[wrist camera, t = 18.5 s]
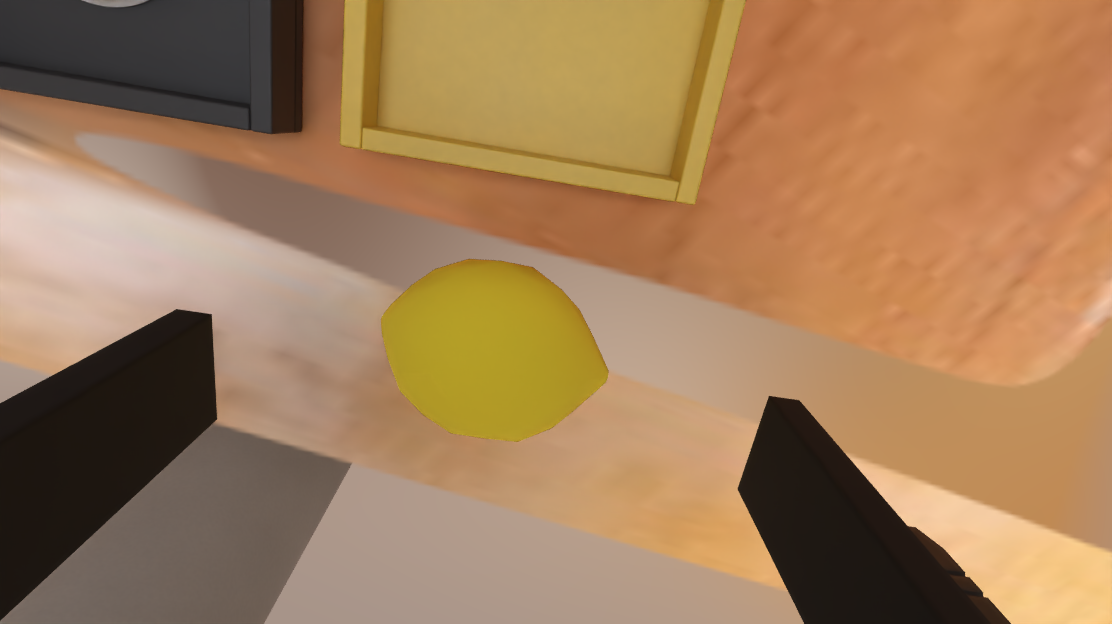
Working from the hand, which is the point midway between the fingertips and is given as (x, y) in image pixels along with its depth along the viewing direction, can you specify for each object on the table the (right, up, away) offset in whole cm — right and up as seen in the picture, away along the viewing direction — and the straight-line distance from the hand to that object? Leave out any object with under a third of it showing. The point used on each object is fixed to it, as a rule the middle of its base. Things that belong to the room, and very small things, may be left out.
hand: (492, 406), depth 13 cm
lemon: (0, +2, +6) cm, 7 cm away
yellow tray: (+1, +12, +3) cm, 12 cm away
